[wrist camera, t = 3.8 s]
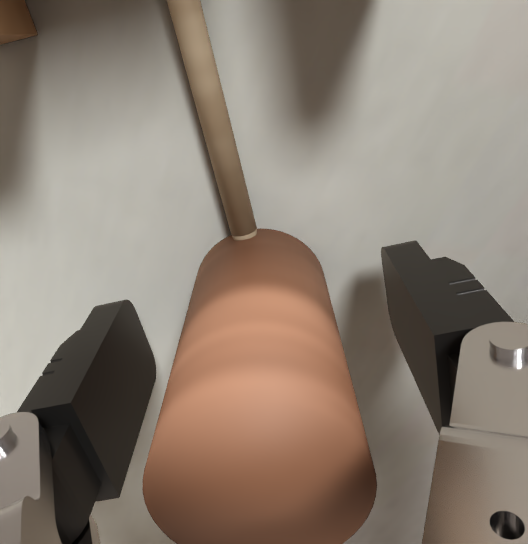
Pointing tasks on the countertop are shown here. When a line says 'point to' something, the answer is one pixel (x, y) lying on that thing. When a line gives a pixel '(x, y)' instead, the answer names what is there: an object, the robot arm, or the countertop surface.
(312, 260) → the tethered walnut block
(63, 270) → the countertop surface
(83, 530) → the robot arm
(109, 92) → the countertop surface
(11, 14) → the frame
